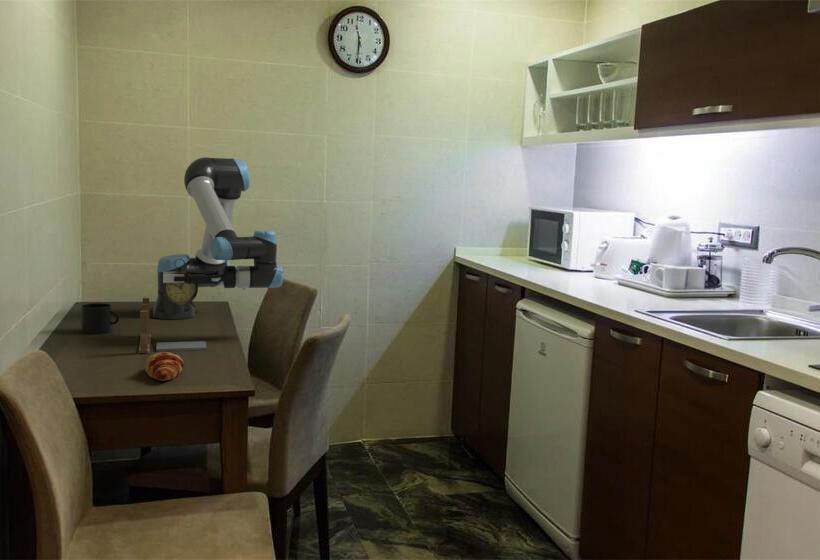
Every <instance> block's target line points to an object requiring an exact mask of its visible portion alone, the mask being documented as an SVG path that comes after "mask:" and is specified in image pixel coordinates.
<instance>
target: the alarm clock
mask: <svg viewBox="0 0 820 560" xmlns="http://www.w3.org/2000/svg"><path fill="white" fill-rule="evenodd" d="M177 260H179V259H177ZM177 260H175V262H176V261H177ZM180 260H182V261H183V262H184V260H183V259H180ZM175 262H174V265H175ZM184 265H185V262H184ZM184 265H183V267H184ZM175 267H176V265H175ZM183 267H176V268H178V271H177V272H173V273H171V274H184V273H186V272H182V271H181V268H183ZM187 275H190V274H188V273H187ZM162 291H163V294H164V296H165V298H166V299H167V300H168V301H169V304H168V305H167V307H166V308H168V307H169V306H170V305H171V303H172V304H175V305H178V306H180V305H186V304H188V303H190V304H191V305H192V306H193V308H195V305H194V303H193V301H194V300H195V298H196V297H197V296H198V292H199V287H198V284H197V283H195V284H187V283H185V282H184V283H163V285H162Z"/></svg>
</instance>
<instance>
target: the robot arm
mask: <svg viewBox="0 0 820 560" xmlns="http://www.w3.org/2000/svg"><path fill="white" fill-rule="evenodd" d="M250 176H251V175H250V171H249V167H248V165H247V163H246V162H245V161H244V160H242V159H239V158H227V157H226V158H222V157H221V158H220V157H205V156H204V157H199V158H197V159H195V160H194V161H192V162H191V163H190V164H189V165H188V167H187V168H186V170H185V172H184V176H183V177H184V178H183V183H184V187H185V190H186V192H187V194H188V195H189V196H190V197H192V198H193V200H194V202H195V204H196V206H197V208H198V210H199V212H200V215H201V217H202V219H203V221H204V223H205V229H204V234H203V239H202V244H201V248H200V249H197V251H196V253H195V257H190V255H189V254H186V253H182V254H181V253H180V254H171V255H166V256H163V257H160V258H158V259H159V260H158V261H157V269H156V272H157V297H156V300H155V303H154V308H153V310H152V317H153V318H156V319H160V320H184V319H185V320H186V319H190V318H193V317H195V309H194V308H195V307H193V306H192V305H191V304H190V303H188V304H186V305H180V306H178V305H175V304H172V303H171V305H170V306H169V307H168V308H166V307H167V305H168V304H169V301H168V300H167V299H166V298H165V296H164V294H163V291H162V285H163V283H184V282H185V283H187V284H195V283H197V284H198V288H215V287H222V286H223V287H224V288H225V289H235V288H238V289H242V290H244V291H245V290H246V289H247V288H249V289H271V288H274V289H275V288H280V287H281V286H282V285H283V283H284V273H283V272H284V271H283V267H282V266H281V265H278V264H277V252H278V251H277V248H278V238H277V233H276V232H275V231H273V230H266V229H265V230H263V229H261V230H260V229H259V230H255V231H254V233H253V236H238V235H237V234H236V231H235V229H234V227H233V224H232V223H231V222H232V217H233V213H234V212H233V211H234V207H235V205H236V204H235V202H236V201H237V200H239V199H240V198H241V195H242V192H246V191H247V190H249V188H250V186H251V185H250V184H251V177H250ZM177 259H179V260H177ZM180 259H183V260H184V262H185V265H184V262H183V261H182V260H180ZM175 260H177V261H176V262H175ZM237 260H253V265H236V266H235V265H231V264H230V261H237ZM174 262H175V265H176V267H183V265H184V267H183V268H181V271H182V272H186V273H184V274H171V273H173V272H177V271H178V268H176V267H175V265H174ZM187 273H188V274H190V275H187Z"/></svg>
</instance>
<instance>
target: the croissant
mask: <svg viewBox="0 0 820 560" xmlns="http://www.w3.org/2000/svg"><path fill="white" fill-rule="evenodd" d="M144 365H145V367H144V368H145V369H144V372H146V374H147V375H148V376H149V377H150V378H152V379H155V380H157V381H159V382H164V381H171V380H174V379H175V378H176V376H177V377H179V375H180V373H181V372H182V371H183V369H184V367H185V361H184V360H183V358H182V357H180V356H179V355H177V354H174V353H172V352H170V351H159V352H156V353H153V354H152V355H149V356H148V357H147V359H146V362H145V364H144Z"/></svg>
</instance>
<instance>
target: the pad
mask: <svg viewBox="0 0 820 560" xmlns="http://www.w3.org/2000/svg"><path fill="white" fill-rule="evenodd" d="M207 349H208V348H207V343H206V341H205V340H202V341H201V340H200V341H170V342H169V341H165V342H164V341H163V342H156V349H155V350H156V352H178V351H179V352H184V351H185V352H186V351H187V352H188V351H207Z"/></svg>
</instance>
